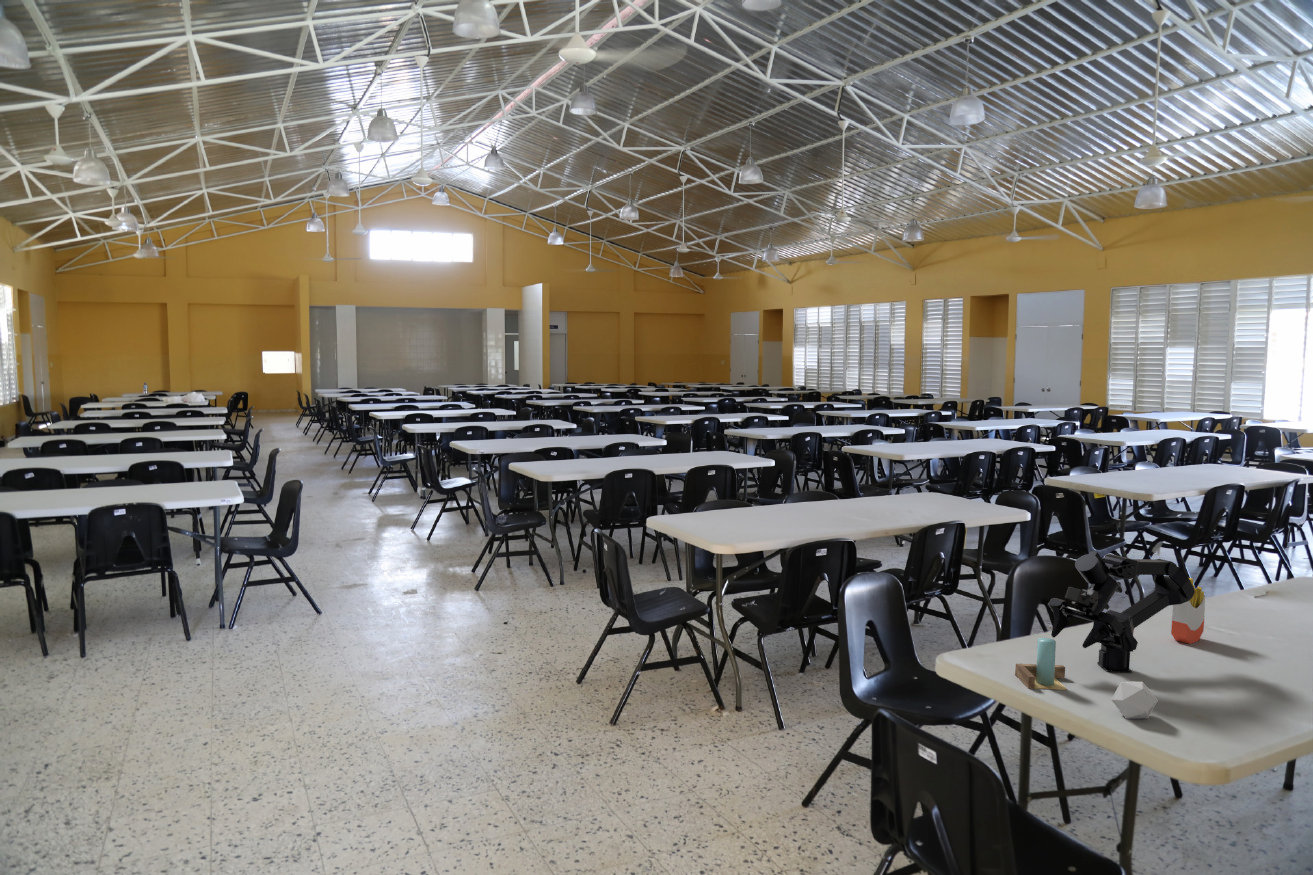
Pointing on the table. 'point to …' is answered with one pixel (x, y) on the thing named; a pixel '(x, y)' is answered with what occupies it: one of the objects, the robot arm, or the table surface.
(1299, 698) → the table surface
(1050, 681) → the cylindrical block
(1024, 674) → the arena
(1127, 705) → the die
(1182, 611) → the french fries container
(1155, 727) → the table surface
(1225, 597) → the table surface
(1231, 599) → the table surface
